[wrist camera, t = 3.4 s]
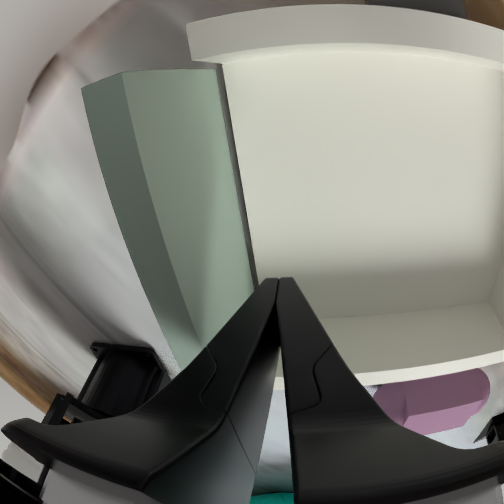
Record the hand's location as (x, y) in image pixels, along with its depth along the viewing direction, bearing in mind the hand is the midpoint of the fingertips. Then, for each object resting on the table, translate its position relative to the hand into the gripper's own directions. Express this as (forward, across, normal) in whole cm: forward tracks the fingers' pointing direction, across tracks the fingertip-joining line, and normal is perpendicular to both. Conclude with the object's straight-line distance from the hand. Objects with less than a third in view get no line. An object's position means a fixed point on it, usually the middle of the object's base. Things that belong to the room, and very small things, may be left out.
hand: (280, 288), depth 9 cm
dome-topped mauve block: (+6, -11, +16) cm, 20 cm away
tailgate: (+5, +2, 0) cm, 6 cm away
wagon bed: (+6, -6, 0) cm, 9 cm away
